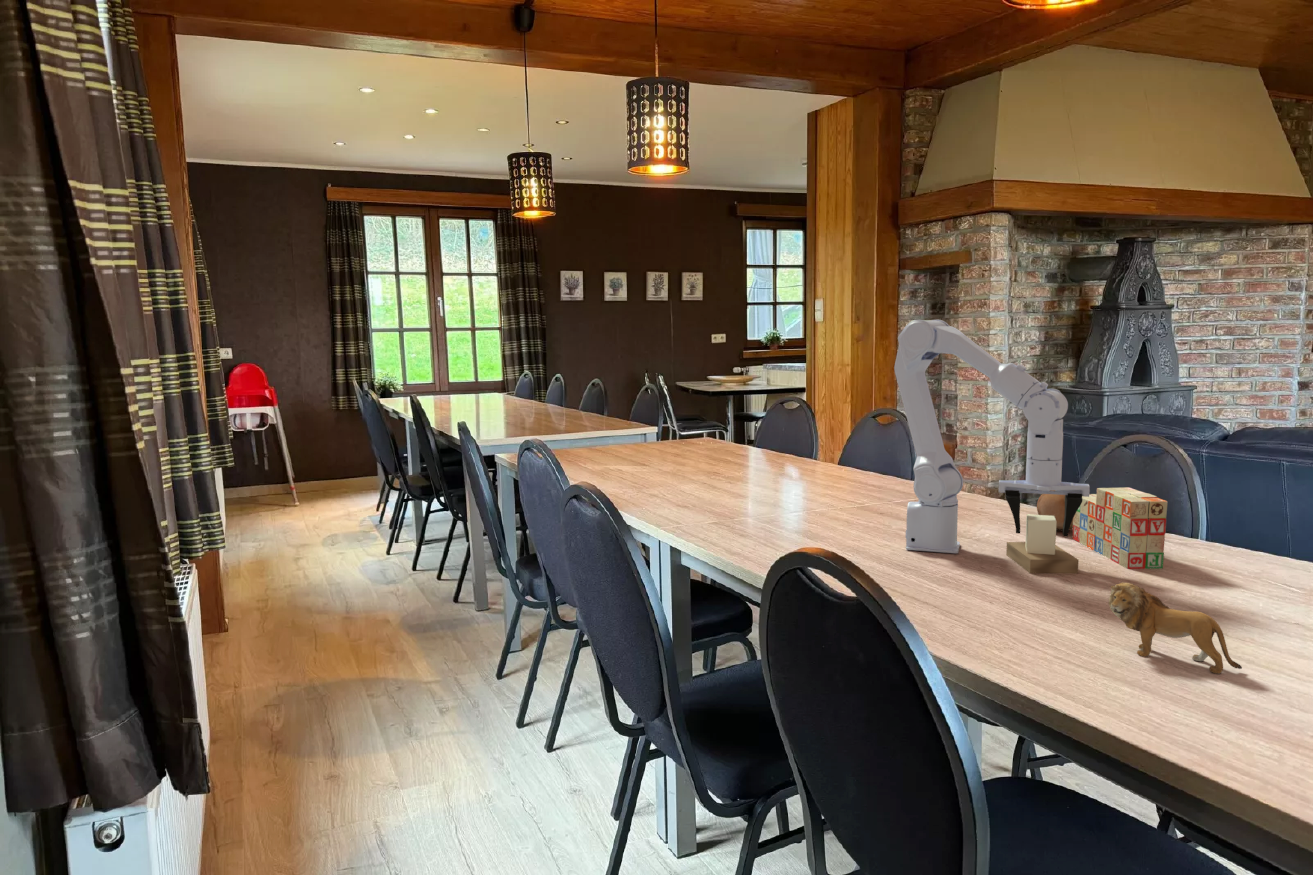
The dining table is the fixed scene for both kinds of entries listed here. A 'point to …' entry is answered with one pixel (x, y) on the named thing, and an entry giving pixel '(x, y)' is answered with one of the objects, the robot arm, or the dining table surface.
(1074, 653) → the dining table surface
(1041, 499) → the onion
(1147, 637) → the lion figurine
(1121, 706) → the dining table surface
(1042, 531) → the cream block
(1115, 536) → the stack of blocks
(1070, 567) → the tan block
